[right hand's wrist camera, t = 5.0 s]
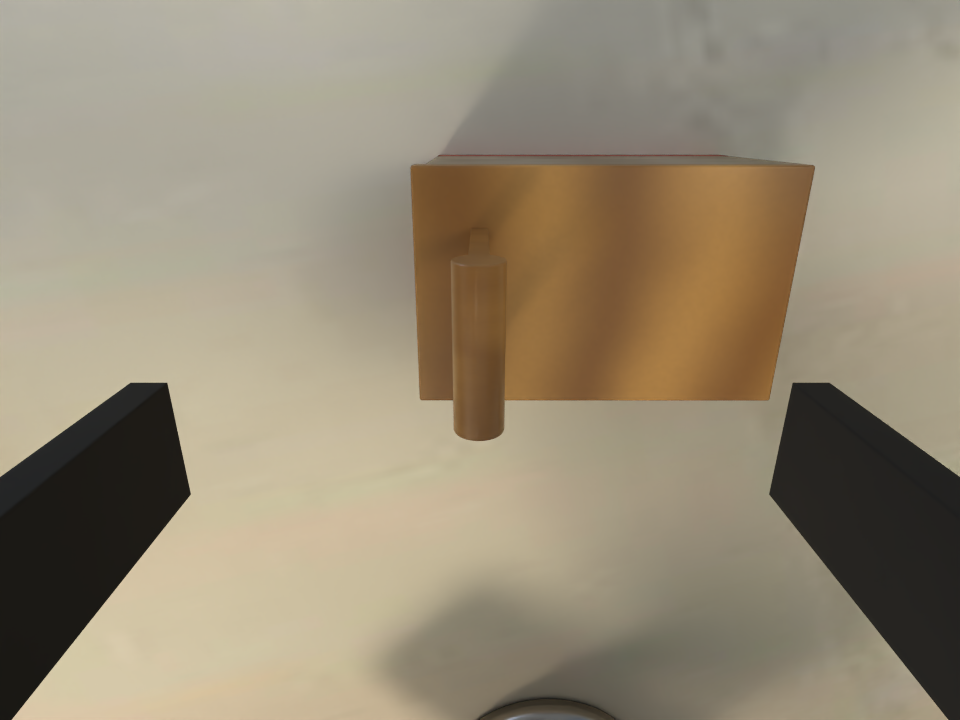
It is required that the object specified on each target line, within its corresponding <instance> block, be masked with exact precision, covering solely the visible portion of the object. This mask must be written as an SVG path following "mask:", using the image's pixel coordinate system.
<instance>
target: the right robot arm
mask: <svg viewBox="0 0 960 720" xmlns="http://www.w3.org/2000/svg"><path fill="white" fill-rule="evenodd" d="M190 495H191V493H190V488H189V484H188V479H187V474H186V470H185V465H184V460H183V455H182V451H181V446H180V441H179V436H178V432H177V427H176V422H175V417H174V413H173V408H172V403H171V399H170V394H169V389H168V384H167V383H130V384H128V385H127V386H126V387H124V388H123V389H121V390H120V391H119V392H117V393H116V394H115V395H113V396H112V397H110V398H109V399H108V400H106V401H105V402H103V403H102V404H101V405H99V406H98V407H97V408H95V409H94V410H92V411H91V412H90V413H88V414H87V415H86V416H84V417H83V418H81V419H80V420H79V421H77V422H76V423H74V424H73V425H72V426H70V427H69V428H68V429H66V430H65V431H63V432H62V433H61V434H59V435H58V436H56V437H55V438H54V439H52V440H51V441H50V442H48V443H47V444H45V445H44V446H43V447H41V448H40V449H38V450H37V451H36V452H34V453H33V454H32V455H30V456H29V457H27V458H26V459H25V460H23V461H22V462H20V463H19V464H18V465H16V466H15V467H14V468H12V469H11V470H9V471H8V472H7V473H5V474H4V475H2V476H1V477H0V720H12V719H13V717H14V716H15V715H16V714H17V712H18V711H19V710H20V708H21V707H22V706H23V705H24V703H25V702H26V701H27V700H28V698H29V697H30V696H31V695H32V693H33V692H34V691H35V690H36V688H37V687H38V686H39V685H40V683H41V682H42V681H43V680H44V678H45V677H46V676H47V675H48V673H49V672H50V671H51V669H52V668H53V667H54V666H55V664H56V663H57V662H58V661H59V659H60V658H61V657H62V656H63V654H64V653H65V652H66V651H67V649H68V648H69V647H70V646H71V644H72V643H73V642H74V641H75V639H76V638H77V637H78V636H79V634H80V633H81V632H82V630H83V629H84V628H85V627H86V625H87V624H88V623H89V622H90V620H91V619H92V618H93V617H94V615H95V614H96V613H97V612H98V610H99V609H100V608H101V607H102V605H103V604H104V603H105V602H106V600H107V599H108V598H109V597H110V595H111V594H112V593H113V591H114V590H115V589H116V588H117V586H118V585H119V584H120V583H121V581H122V580H123V579H124V578H125V576H126V575H127V574H128V573H129V571H130V570H131V569H132V568H133V566H134V565H135V564H136V563H137V561H138V560H139V559H140V558H141V556H142V555H143V554H144V552H145V551H146V550H147V549H148V547H149V546H150V545H151V544H152V542H153V541H154V540H155V539H156V537H157V536H158V535H159V534H160V532H161V531H162V530H163V529H164V527H165V526H166V525H167V524H168V522H169V521H170V520H171V519H172V517H173V516H174V515H175V513H176V512H177V511H178V510H179V508H180V507H181V506H182V505H183V503H184V502H185V501H186V500H187V498H188V497H189V496H190ZM769 495H770V496H771V497H772V498H773V500H774V501H775V502H776V503H777V505H778V506H779V507H780V508H781V510H782V511H783V512H784V513H785V515H786V516H787V517H788V519H789V520H790V521H791V522H792V524H793V525H794V526H795V527H796V529H797V530H798V531H799V532H800V534H801V535H802V536H803V537H804V539H805V540H806V541H807V542H808V544H809V545H810V546H811V547H812V549H813V550H814V551H815V552H816V554H817V555H818V556H819V558H820V559H821V560H822V561H823V563H824V564H825V565H826V566H827V568H828V569H829V570H830V571H831V573H832V574H833V575H834V576H835V578H836V579H837V580H838V581H839V583H840V584H841V585H842V586H843V588H844V589H845V590H846V591H847V593H848V594H849V595H850V597H851V598H852V599H853V600H854V602H855V603H856V604H857V605H858V607H859V608H860V609H861V610H862V612H863V613H864V614H865V615H866V617H867V618H868V619H869V620H870V622H871V623H872V624H873V625H874V627H875V628H876V629H877V630H878V632H879V633H880V634H881V636H882V637H883V638H884V639H885V641H886V642H887V643H888V644H889V646H890V647H891V648H892V649H893V651H894V652H895V653H896V654H897V656H898V657H899V658H900V659H901V661H902V662H903V663H904V664H905V666H906V667H907V668H908V669H909V671H910V672H911V673H912V675H913V676H914V677H915V678H916V680H917V681H918V682H919V683H920V685H921V686H922V687H923V688H924V690H925V691H926V692H927V693H928V695H929V696H930V697H931V698H932V700H933V701H934V702H935V703H936V705H937V706H938V707H939V708H940V710H941V711H942V712H943V714H944V715H945V716H946V717H947V719H948V720H960V477H959V476H958V475H956V474H955V473H953V472H952V471H951V470H949V469H948V468H946V467H945V466H944V465H942V464H941V463H940V462H938V461H937V460H935V459H934V458H933V457H931V456H930V455H928V454H927V453H926V452H924V451H923V450H922V449H920V448H919V447H917V446H916V445H915V444H913V443H912V442H910V441H909V440H908V439H906V438H905V437H904V436H902V435H901V434H899V433H898V432H897V431H895V430H894V429H892V428H891V427H890V426H888V425H887V424H886V423H884V422H883V421H881V420H880V419H879V418H877V417H876V416H874V415H873V414H872V413H870V412H869V411H868V410H866V409H865V408H863V407H862V406H861V405H859V404H858V403H857V402H855V401H854V400H852V399H851V398H850V397H848V396H847V395H845V394H844V393H843V392H841V391H840V390H839V389H837V388H836V387H834V386H833V385H832V384H830V383H793V384H792V389H791V394H790V399H789V403H788V408H787V413H786V417H785V422H784V427H783V432H782V436H781V441H780V446H779V451H778V455H777V460H776V465H775V470H774V474H773V479H772V484H771V488H770V493H769Z"/></svg>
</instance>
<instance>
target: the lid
mask: <svg viewBox="0 0 960 720" xmlns="http://www.w3.org/2000/svg"><path fill="white" fill-rule="evenodd" d="M410 169H411V193H412V218H413V242H414V266H415V291H416V315H417V340H418V364H419V388H420V399H421V400H453V411H454V431H455V433H456V434H457V435H458V436H460V437H462V438H464V439H467V440H473V441H485V440H491V439H494V438H496V437H498V436H500V435H501V434H502V433H503V431H504V407H505V400H769V398H770V392H771V387H772V382H773V377H774V372H775V367H776V362H777V357H778V352H779V347H780V342H781V337H782V332H783V327H784V322H785V317H786V311H787V306H788V301H789V296H790V291H791V286H792V281H793V276H794V271H795V266H796V261H797V256H798V251H799V246H800V241H801V236H802V231H803V225H804V220H805V215H806V210H807V205H808V200H809V195H810V190H811V185H812V180H813V175H814V170H815V166H813V165H806V164H414V165H412V166H411V168H410Z"/></svg>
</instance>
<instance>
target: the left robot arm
mask: <svg viewBox="0 0 960 720" xmlns="http://www.w3.org/2000/svg"><path fill="white" fill-rule="evenodd" d="M480 720H615V719H614V718H613V717H611V716H610V715H608V714H606V713H605V712H603V711H601V710H599V709H596V708H594V707H591V706H589V705H586V704H582V703H578V702H573V701H568V700H559V699H539V700H530V701H524V702H519V703H515V704H511V705H508V706H505V707H502V708H500V709H498V710H495V711H493V712H491V713H490V714H488V715H486V716H484V717H483V718H481V719H480Z"/></svg>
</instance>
